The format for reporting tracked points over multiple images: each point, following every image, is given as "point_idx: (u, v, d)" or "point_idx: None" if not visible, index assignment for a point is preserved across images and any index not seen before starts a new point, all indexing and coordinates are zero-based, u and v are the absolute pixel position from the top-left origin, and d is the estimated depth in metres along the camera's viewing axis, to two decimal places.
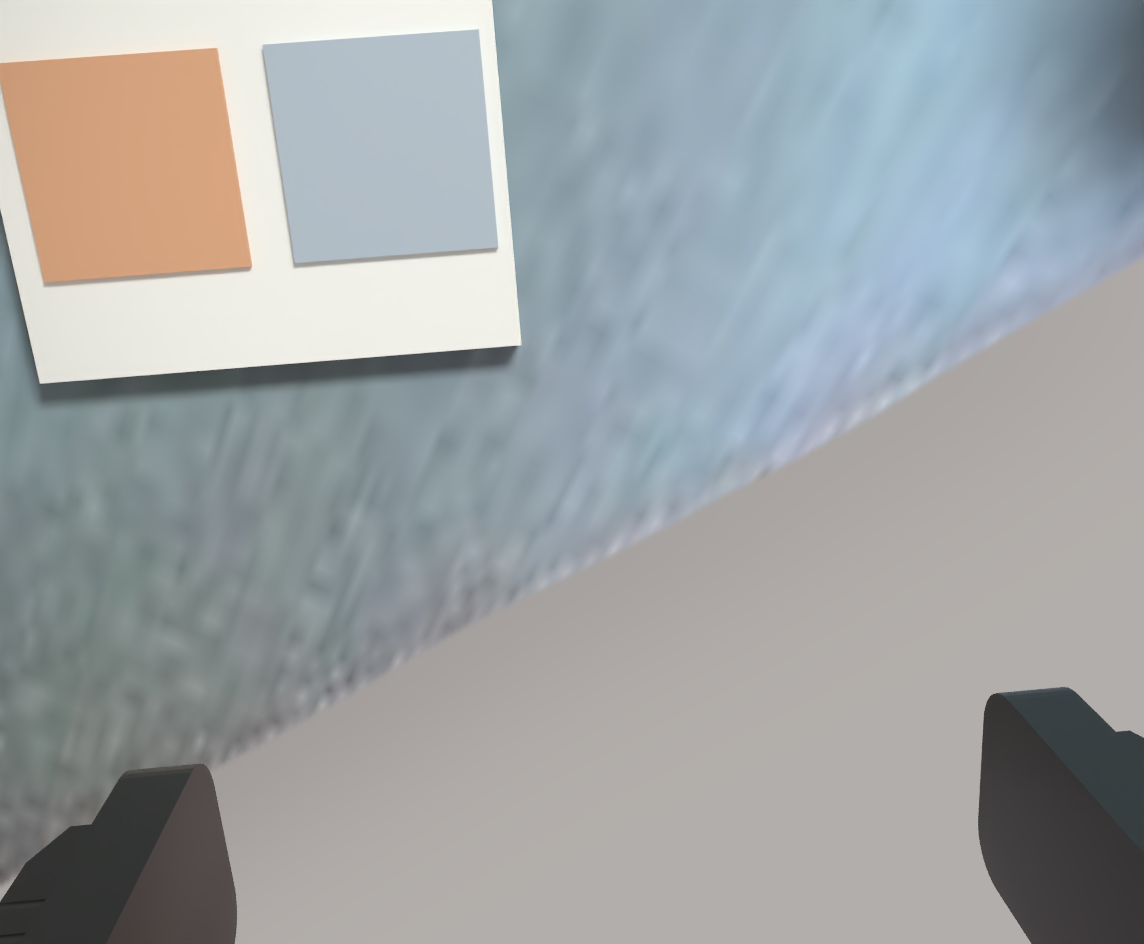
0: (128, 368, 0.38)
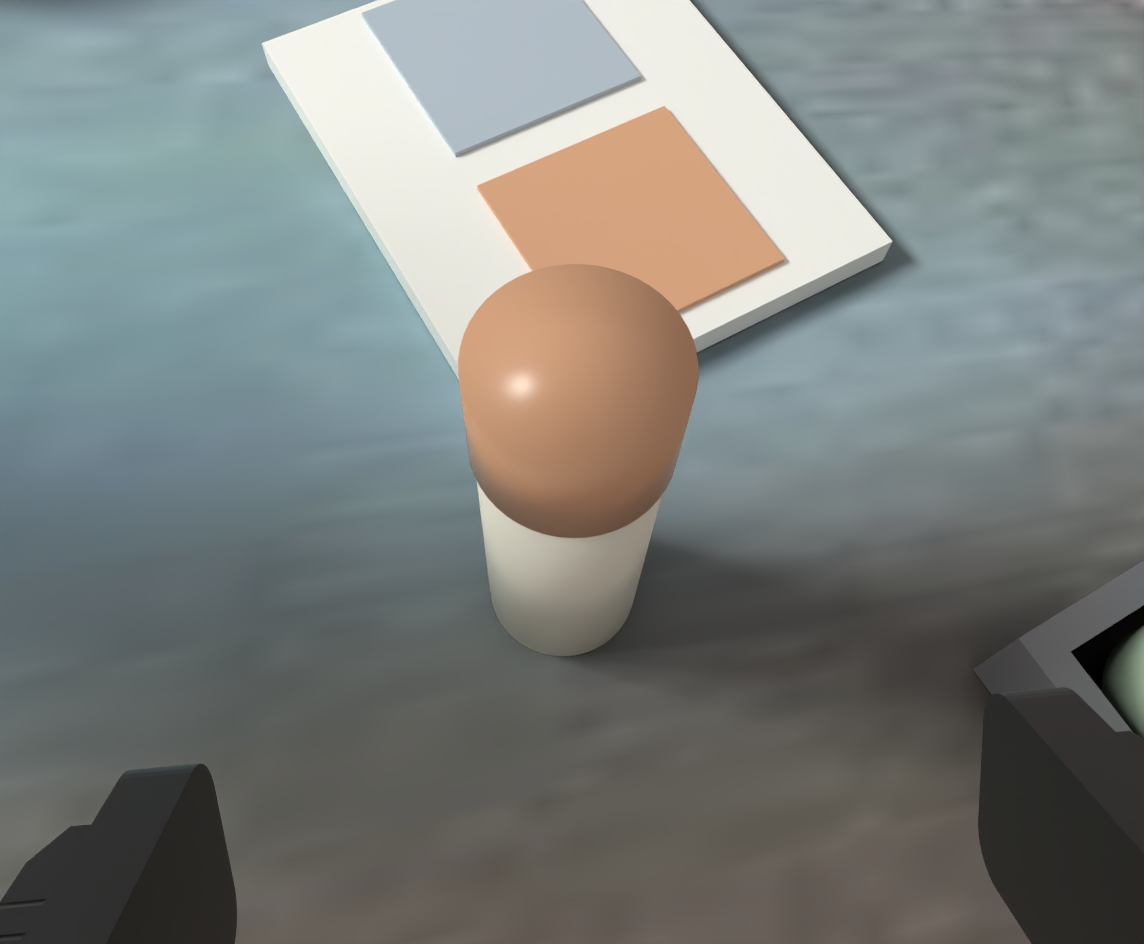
0: (826, 175, 0.35)
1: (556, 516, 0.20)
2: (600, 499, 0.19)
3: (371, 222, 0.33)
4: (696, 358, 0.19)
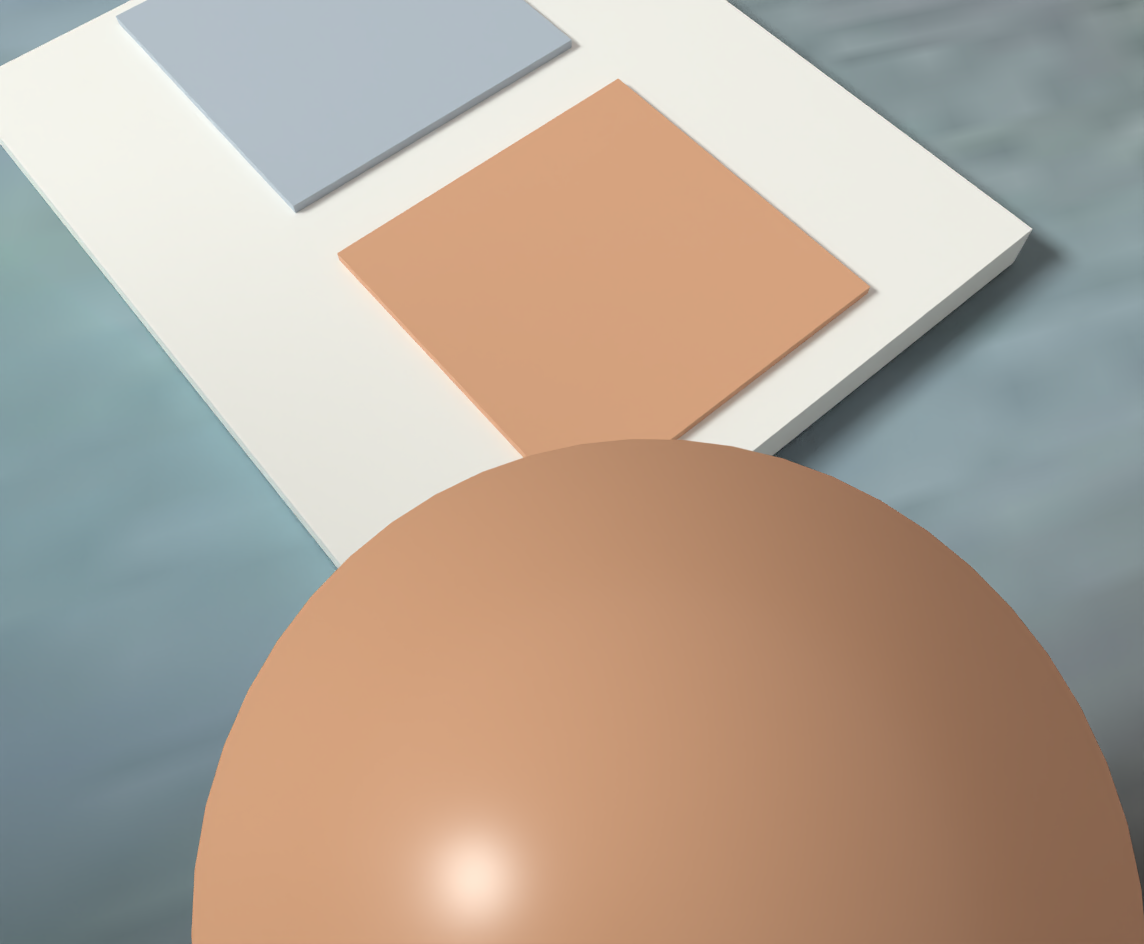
0: (898, 143, 0.21)
1: None
2: None
3: (166, 345, 0.19)
4: (1089, 735, 0.05)
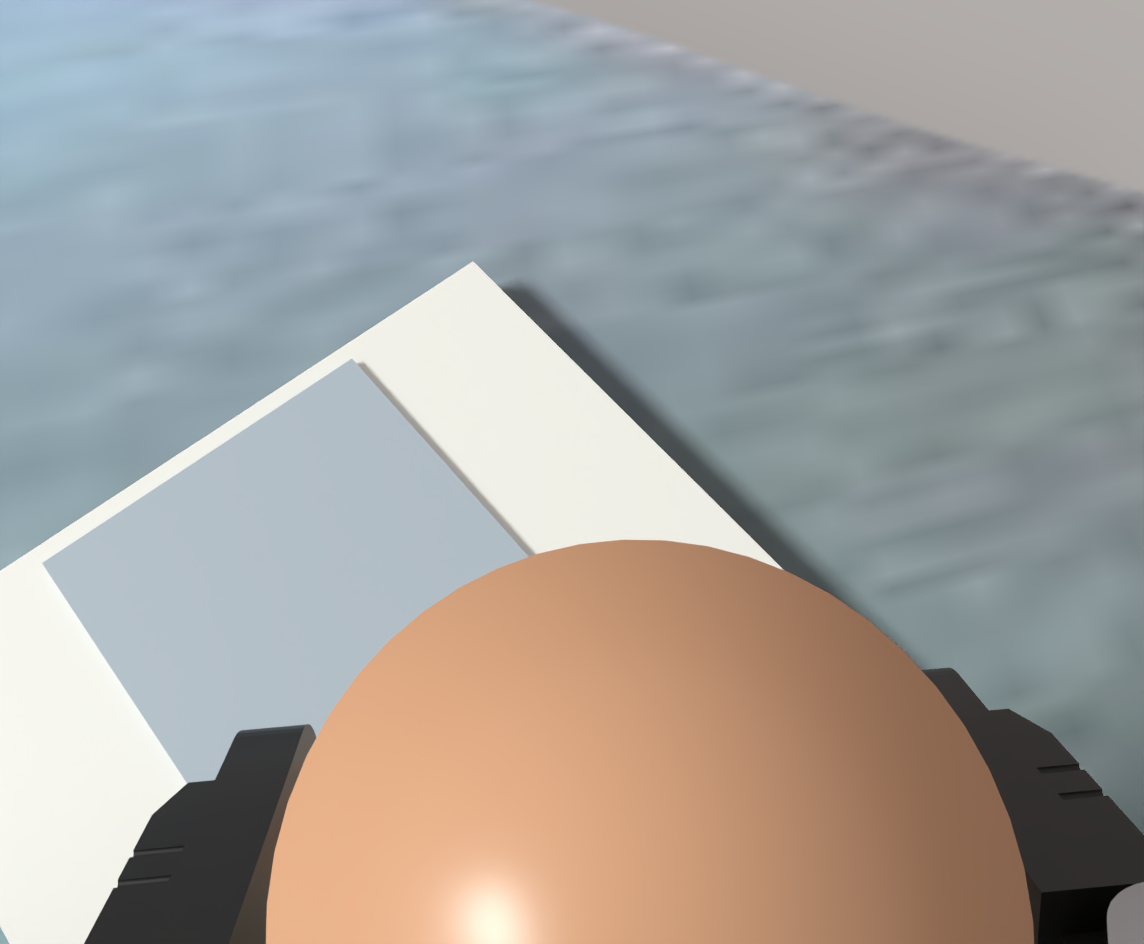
0: None
1: None
2: None
3: None
4: (996, 794, 0.06)
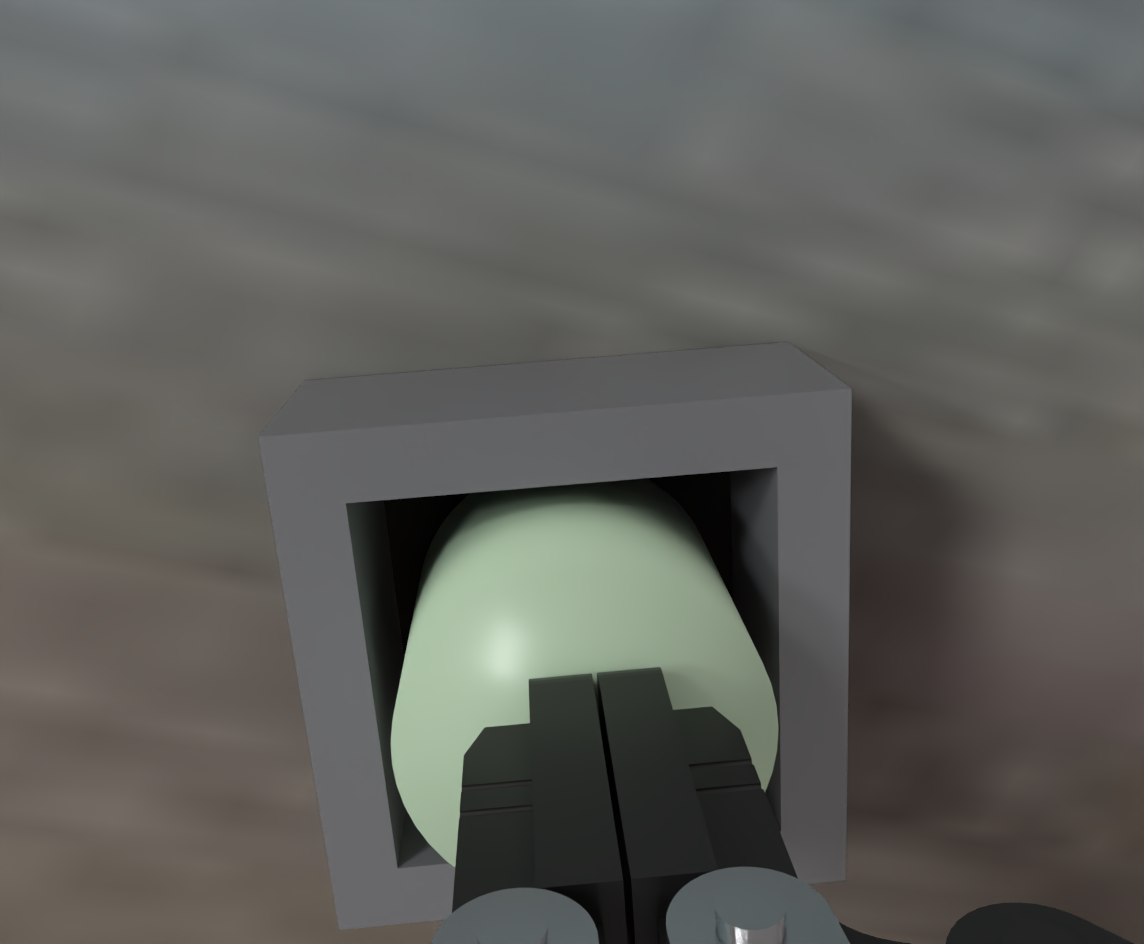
0: None
1: None
2: None
3: None
4: None
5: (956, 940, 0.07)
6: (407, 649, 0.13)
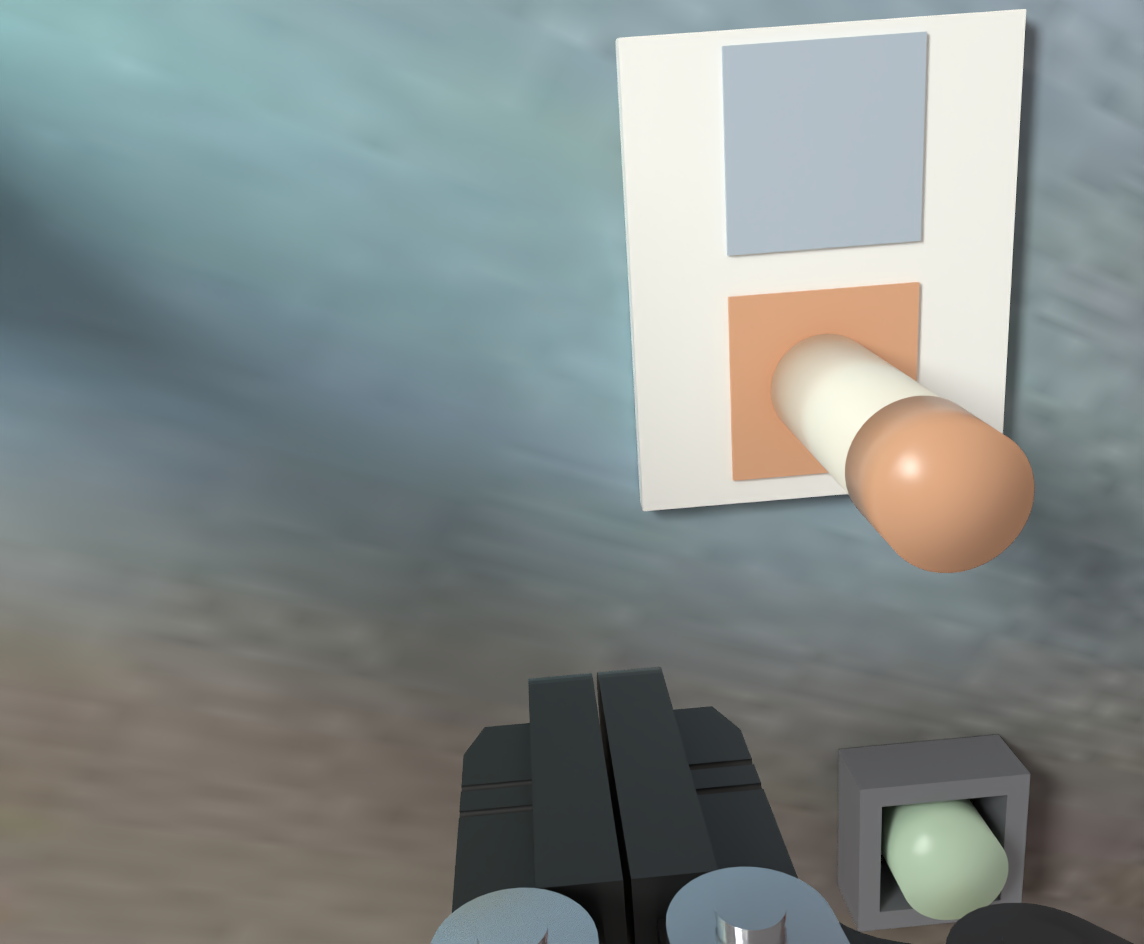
0: (996, 403, 0.41)
1: None
2: None
3: (631, 291, 0.39)
4: (1026, 520, 0.29)
5: (956, 940, 0.07)
6: (896, 844, 0.44)
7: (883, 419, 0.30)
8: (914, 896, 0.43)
